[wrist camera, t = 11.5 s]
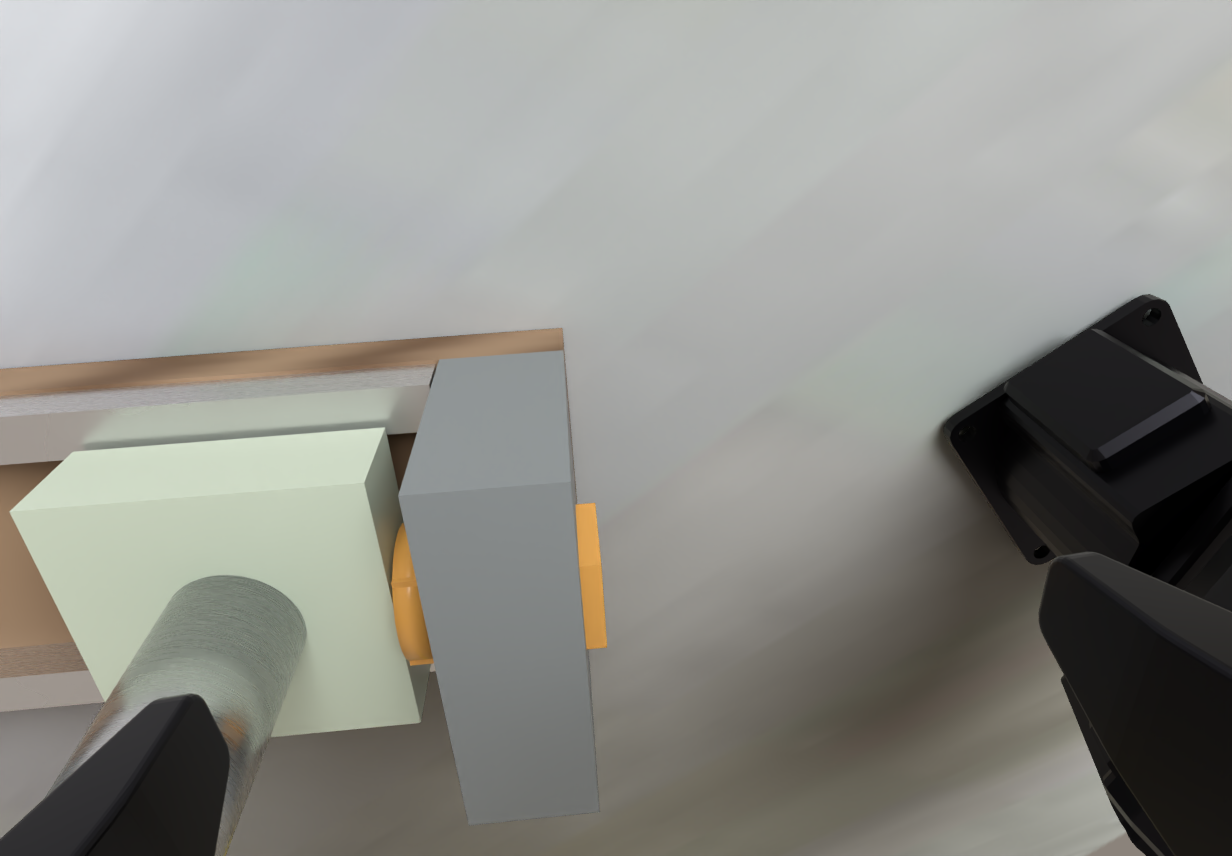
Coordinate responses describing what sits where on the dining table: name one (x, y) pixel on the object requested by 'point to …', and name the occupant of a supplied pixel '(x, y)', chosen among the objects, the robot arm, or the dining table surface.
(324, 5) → the dining table surface
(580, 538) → the gauge plunger
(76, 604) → the carriage
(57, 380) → the rail
